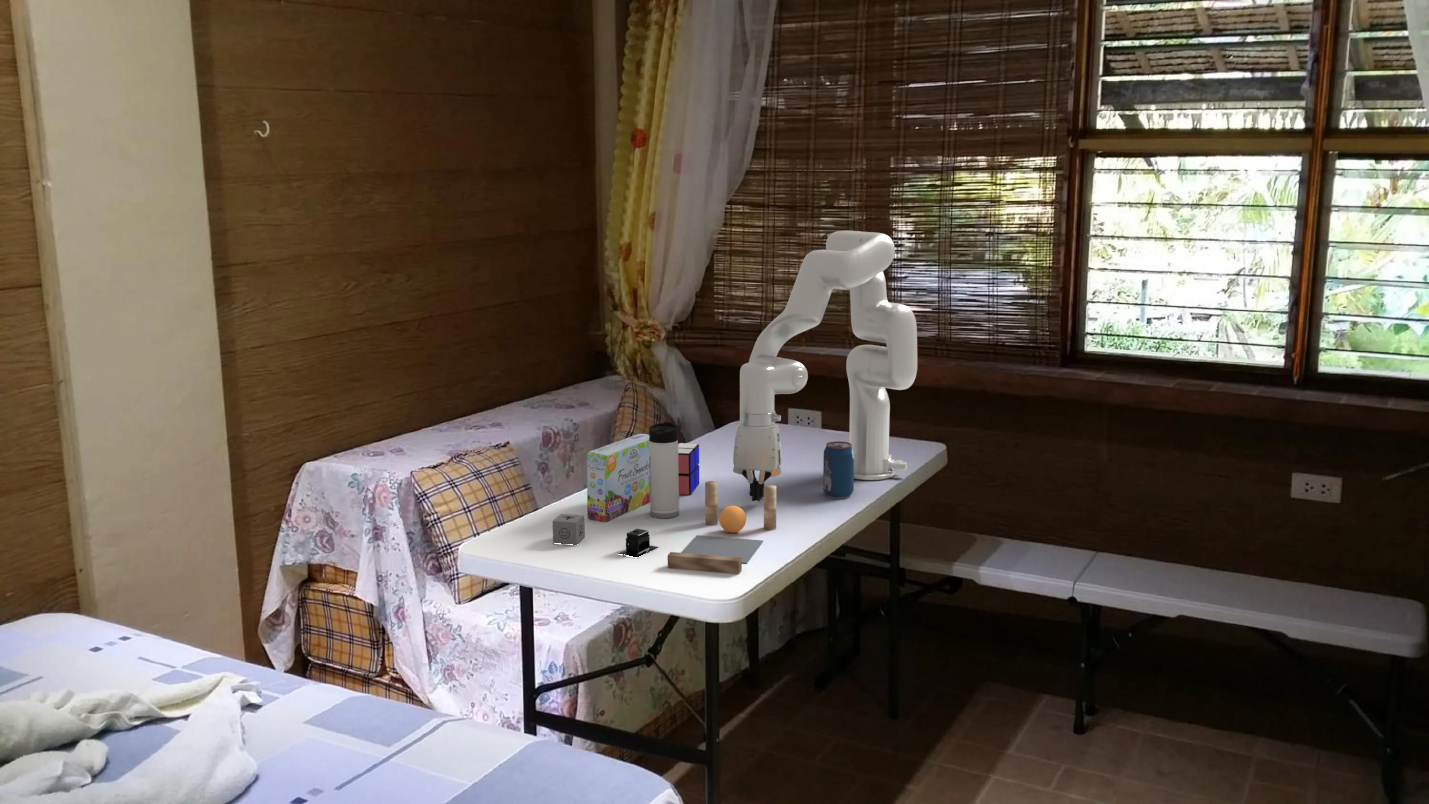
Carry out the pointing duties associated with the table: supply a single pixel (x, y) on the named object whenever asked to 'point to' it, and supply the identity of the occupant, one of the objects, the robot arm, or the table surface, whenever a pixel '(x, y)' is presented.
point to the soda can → (838, 470)
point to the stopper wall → (704, 562)
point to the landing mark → (723, 547)
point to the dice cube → (568, 529)
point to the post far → (711, 503)
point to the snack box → (618, 478)
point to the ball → (732, 519)
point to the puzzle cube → (688, 468)
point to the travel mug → (663, 470)
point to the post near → (769, 507)
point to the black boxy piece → (638, 543)
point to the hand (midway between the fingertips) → (757, 499)
